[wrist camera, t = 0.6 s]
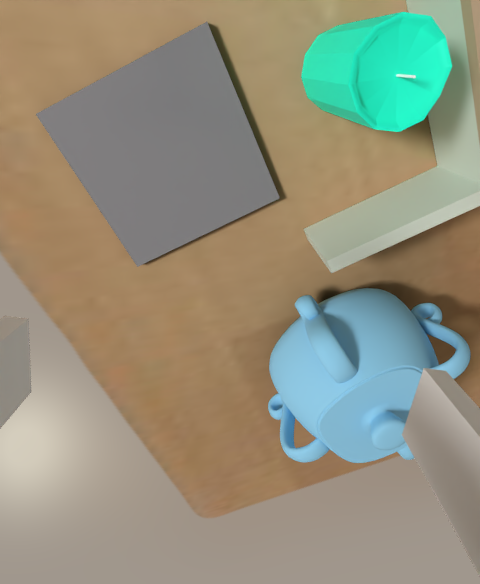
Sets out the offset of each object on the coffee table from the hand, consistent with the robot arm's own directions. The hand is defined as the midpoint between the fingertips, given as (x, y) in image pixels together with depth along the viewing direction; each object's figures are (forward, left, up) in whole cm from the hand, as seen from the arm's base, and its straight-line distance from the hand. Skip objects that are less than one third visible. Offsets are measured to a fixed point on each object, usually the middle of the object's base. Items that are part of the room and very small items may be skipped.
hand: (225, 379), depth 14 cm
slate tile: (-3, -1, -25) cm, 25 cm away
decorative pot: (+22, +6, -25) cm, 34 cm away
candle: (-3, +14, -25) cm, 29 cm away
